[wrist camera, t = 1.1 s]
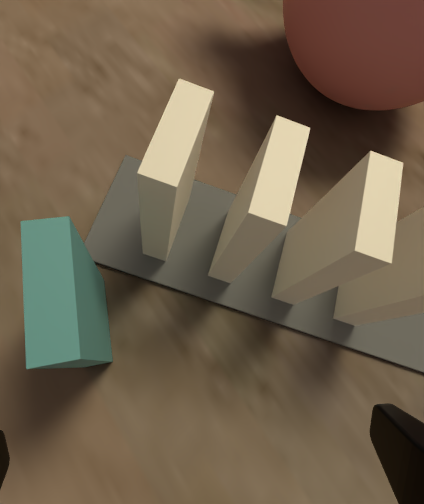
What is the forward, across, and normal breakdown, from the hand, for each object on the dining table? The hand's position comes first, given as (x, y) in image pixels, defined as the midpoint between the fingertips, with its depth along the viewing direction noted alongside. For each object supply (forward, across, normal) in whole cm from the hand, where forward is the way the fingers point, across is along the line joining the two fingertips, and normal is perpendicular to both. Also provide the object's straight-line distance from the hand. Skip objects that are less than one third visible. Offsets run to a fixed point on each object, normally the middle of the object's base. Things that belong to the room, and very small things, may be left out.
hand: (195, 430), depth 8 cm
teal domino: (+12, +6, +3) cm, 14 cm away
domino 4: (+15, -11, +3) cm, 19 cm away
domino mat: (+16, -7, +2) cm, 17 cm away
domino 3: (+15, -7, +1) cm, 17 cm away
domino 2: (+16, -3, 0) cm, 16 cm away
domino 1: (+16, +2, -2) cm, 16 cm away
